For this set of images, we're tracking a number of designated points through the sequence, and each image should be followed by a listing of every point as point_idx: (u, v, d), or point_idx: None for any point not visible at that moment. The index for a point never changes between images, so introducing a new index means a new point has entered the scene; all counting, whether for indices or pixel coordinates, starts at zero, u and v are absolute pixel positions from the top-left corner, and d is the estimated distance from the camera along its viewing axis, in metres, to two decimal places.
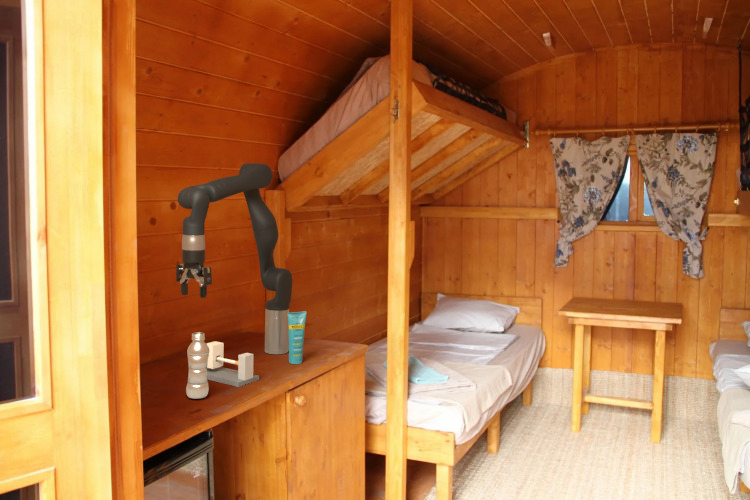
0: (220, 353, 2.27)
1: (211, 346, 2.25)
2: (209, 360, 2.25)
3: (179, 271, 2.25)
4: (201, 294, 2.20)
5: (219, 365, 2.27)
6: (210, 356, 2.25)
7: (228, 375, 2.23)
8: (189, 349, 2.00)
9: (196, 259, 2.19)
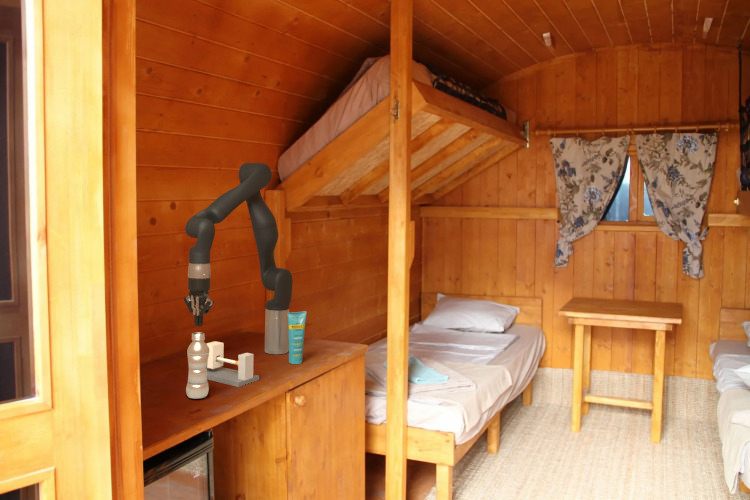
0: (220, 353, 2.27)
1: (211, 346, 2.25)
2: (209, 360, 2.25)
3: (188, 302, 2.31)
4: (197, 323, 2.29)
5: (219, 365, 2.27)
6: (210, 356, 2.25)
7: (228, 375, 2.23)
8: (189, 349, 2.00)
9: (202, 287, 2.26)
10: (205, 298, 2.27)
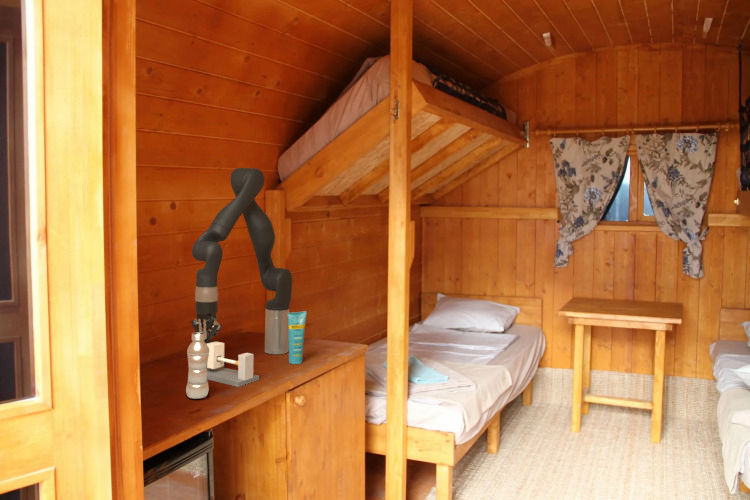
0: (221, 353, 2.27)
1: (212, 346, 2.24)
2: (210, 360, 2.25)
3: (196, 325, 2.30)
4: None
5: (220, 365, 2.27)
6: (210, 356, 2.25)
7: (228, 375, 2.23)
8: (189, 349, 2.00)
9: (209, 310, 2.25)
10: (212, 321, 2.26)
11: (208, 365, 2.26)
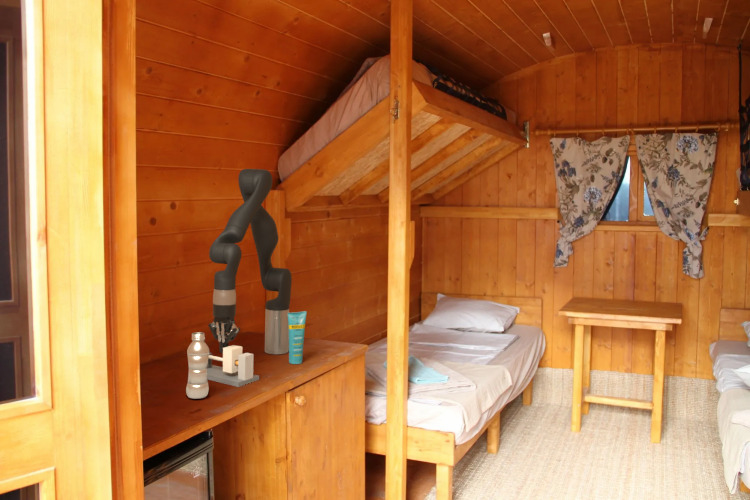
0: None
1: (230, 350, 2.20)
2: (228, 364, 2.21)
3: (213, 329, 2.26)
4: None
5: None
6: (228, 360, 2.21)
7: (228, 375, 2.23)
8: (189, 349, 2.00)
9: (227, 313, 2.21)
10: (231, 325, 2.21)
11: (226, 369, 2.22)
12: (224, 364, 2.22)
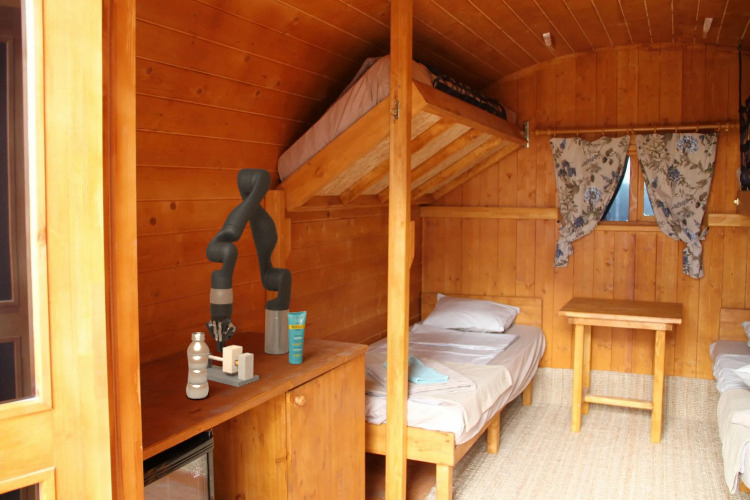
0: None
1: (230, 350, 2.20)
2: (228, 364, 2.21)
3: (210, 328, 2.26)
4: (220, 348, 2.25)
5: None
6: (228, 360, 2.21)
7: (228, 375, 2.23)
8: (189, 349, 2.00)
9: (224, 312, 2.21)
10: (228, 324, 2.22)
11: (226, 369, 2.22)
12: (224, 364, 2.22)
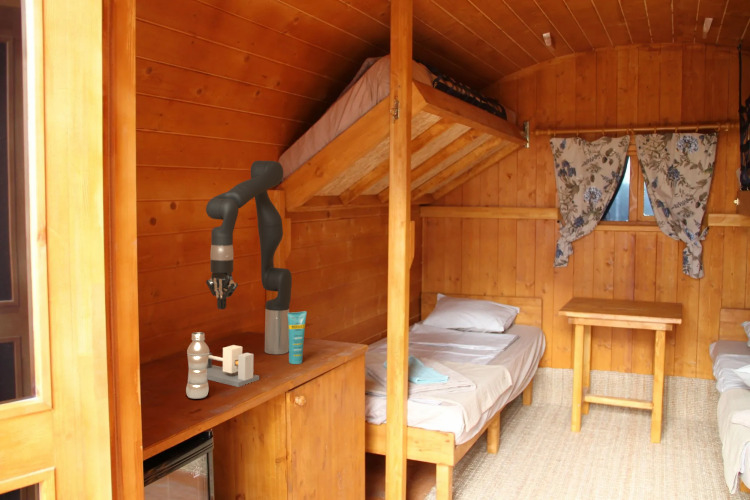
0: None
1: (230, 350, 2.20)
2: (228, 364, 2.21)
3: (211, 285, 2.26)
4: (221, 306, 2.24)
5: None
6: (228, 360, 2.21)
7: (228, 375, 2.23)
8: (189, 349, 2.00)
9: (225, 269, 2.21)
10: (228, 280, 2.22)
11: (226, 369, 2.22)
12: (224, 364, 2.22)
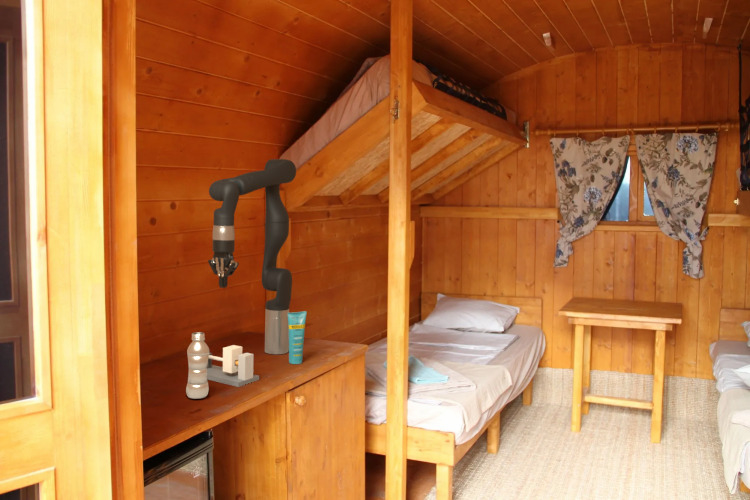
0: None
1: (230, 350, 2.20)
2: (228, 364, 2.21)
3: (213, 265, 2.35)
4: (222, 284, 2.33)
5: None
6: (228, 360, 2.21)
7: (228, 375, 2.23)
8: (189, 349, 2.00)
9: (226, 248, 2.30)
10: (230, 260, 2.31)
11: (226, 369, 2.22)
12: (224, 364, 2.22)
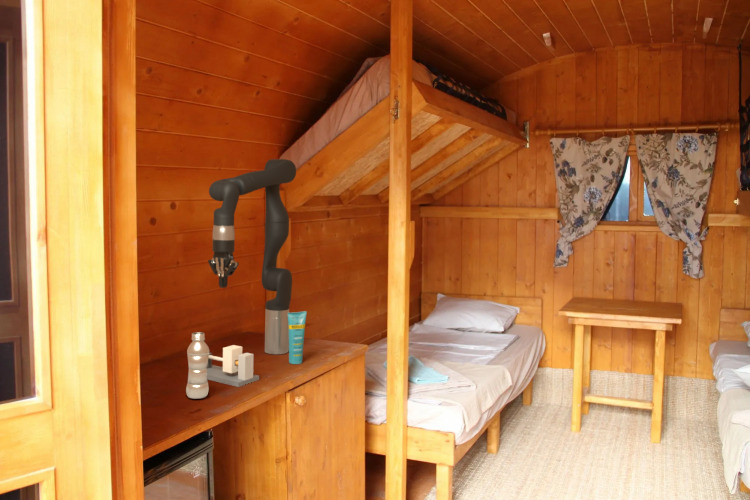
0: None
1: (230, 350, 2.20)
2: (228, 364, 2.21)
3: (213, 265, 2.35)
4: (222, 284, 2.33)
5: None
6: (228, 360, 2.21)
7: (228, 375, 2.23)
8: (189, 349, 2.00)
9: (226, 248, 2.30)
10: (230, 260, 2.31)
11: (226, 369, 2.22)
12: (224, 364, 2.22)
